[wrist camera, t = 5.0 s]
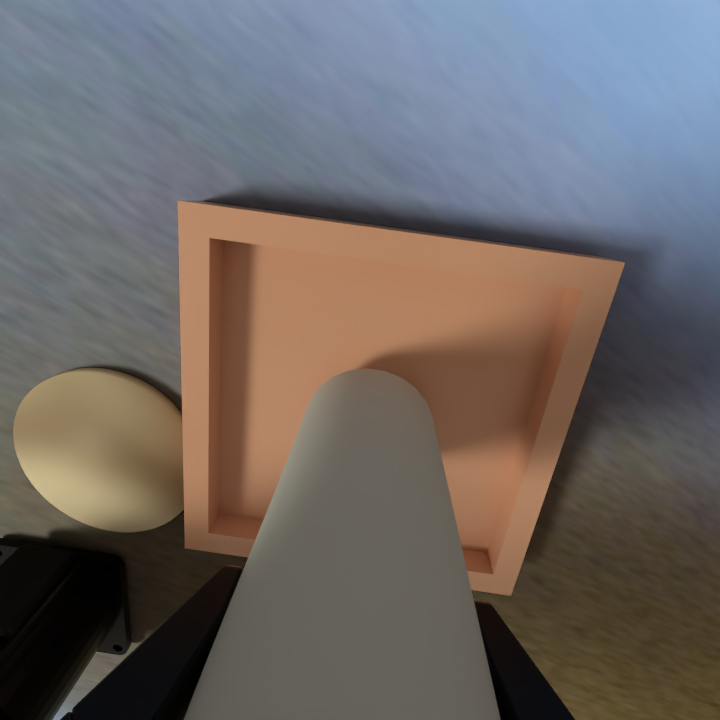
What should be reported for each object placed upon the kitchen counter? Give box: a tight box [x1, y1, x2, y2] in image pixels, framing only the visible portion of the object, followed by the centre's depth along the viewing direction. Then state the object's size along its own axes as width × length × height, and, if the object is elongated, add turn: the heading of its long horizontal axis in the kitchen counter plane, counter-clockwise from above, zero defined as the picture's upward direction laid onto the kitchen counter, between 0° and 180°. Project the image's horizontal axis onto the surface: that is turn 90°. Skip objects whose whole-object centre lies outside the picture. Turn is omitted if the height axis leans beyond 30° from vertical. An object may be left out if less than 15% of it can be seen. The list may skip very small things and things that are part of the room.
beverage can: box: [183, 368, 501, 720], centre depth 10 cm, size 5×5×12 cm
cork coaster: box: [13, 368, 184, 532], centre depth 19 cm, size 8×8×1 cm
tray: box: [178, 201, 625, 596], centre depth 17 cm, size 14×14×2 cm
